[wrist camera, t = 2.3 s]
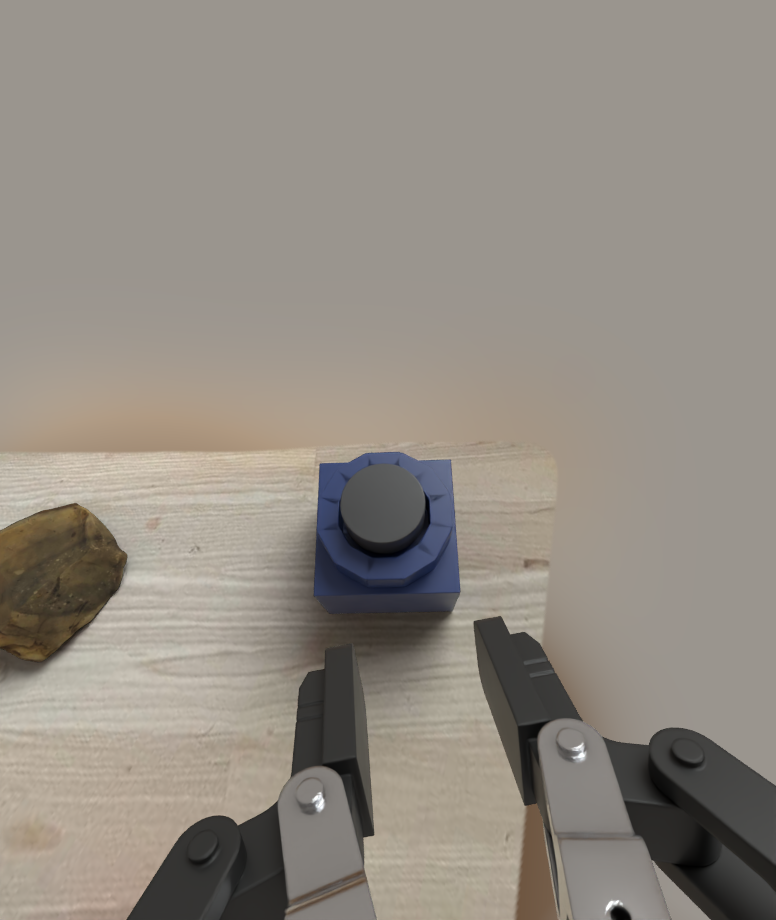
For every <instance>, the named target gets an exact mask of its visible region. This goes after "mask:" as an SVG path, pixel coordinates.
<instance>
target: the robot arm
mask: <svg viewBox="0 0 776 920" xmlns="http://www.w3.org/2000/svg"><path fill="white" fill-rule="evenodd" d="M474 634H475V643H476V652H477V660H478V668H479V674H480V679H481V683H482V687H483V690H484V693H485V696H486V699H487V701H488V704H489V707H490V710H491V713H492V715H493V718H494V721H495V724H496V727H497V729H498V732H499V735H500V738H501V741H502V743H503V746H504V749H505V752H506V755H507V758H508V760H509V763H510V766H511V769H512V772H513V774H514V777H515V780H516V783H517V786H518V788H519V791H520V794H521V797H522V800H523V802H524V805H525V806H526V805H531V804H536V803H537V805H538V808H539V810H540V813H541V816H542V818H543V828H544V838H545V843H546V850H547V856H548V862H549V868H550V874H551V880H552V886H553V892H554V897H555V904H556V910H557V916H558V920H671V917H670V914H669V911H668V908H667V905H666V902H665V899H664V896H663V893H662V890H661V887H660V884H659V881H658V878H657V875H656V872H655V869H654V866H653V863H652V860H653V861H654V862H655V863H656V865H657V866H658V867H659V868H660V869H661V870H662V871H663V872H664V873H665V874H666V875H667V876H668V877H669V878H670V879H671V880H672V881H673V882H674V883H675V884H676V885H677V886H678V887H679V888H680V889H681V890H682V891H683V892H684V893H685V894H686V895H687V896H688V897H689V898H690V899H691V900H692V901H693V902H694V903H695V904H696V905H697V906H698V907H699V908H700V909H701V910H702V911H703V912H704V913H705V914H706V915H707V916H708V917H709V918H710V919H711V920H776V786H775V785H774V784H772V783H771V782H769V781H768V780H767V779H765V778H763V777H762V776H761V775H760V774H758V773H757V772H755V771H754V770H752V769H751V768H750V767H748V766H747V765H745V764H744V763H742V762H741V761H740V760H738V759H737V758H735V757H734V756H733V755H731V754H730V753H728V752H727V751H725V750H724V749H723V748H721V747H720V746H718V745H717V744H716V743H714V742H713V741H711V740H710V739H708V738H707V737H705V736H703V735H701V734H699V733H697V732H695V731H692V730H688V729H683V728H666V729H663V730H660V731H659V732H657V733H656V734H654V735H653V737H652V738H651V740H650V743H649V745H640V744H630V743H621V742H616V741H612V740H609V739H607V738H604V737H602V736H601V735H600V734H599V733H598V732H597V730H595V729H594V728H593V727H592V726H590V725H588V724H587V723H585V722H583V720H582V719H581V717H580V716H579V714H578V712H577V710H576V708H575V707H574V705H573V703H572V701H571V699H570V698H569V696H568V694H567V692H566V691H565V689H564V687H563V685H562V683H561V681H560V680H559V678H558V676H557V674H556V673H555V672H554V669H553V668H552V665H551V664H550V662H549V661H548V658H547V656H546V654H545V653H544V651H543V649H542V647H541V645H540V643H538V642H537V641H536V640H534V639H533V638H532V637H531V636H529V635H528V634H527V633H525V632H521V633H516V634H511V635H510V633H509V631H508V629H507V627H506V625H505V623H504V621H503V619H502V617H501V616H498V617H493V618H488V619H482V620H477V621H474ZM296 719H297V722H296V729H295V740H294V751H293V762H292V773H291V778H290V779H289V780H288V781H287V783H286V784H285V785H284V787H283V789H282V791H281V793H280V795H279V799H278V801H277V802H276V803H275V804H274V805H273V806H272V807H270V808H269V809H268V810H266V811H265V812H263V813H261V814H259V815H257V816H256V817H254V818H252V819H250V820H248V821H246V822H244V823H242V824H240V825H238V826H237V824H236V823H235V822H234V820H232V819H231V818H229V817H226V816H220V815H219V816H211V817H207V818H205V819H202V820H200V821H198V822H197V823H195V824H194V825H192V826H191V827H189V828H188V829H187V830H186V831H185V832H184V833H183V834H182V835H181V836H180V837H179V839H178V840H177V842H176V843H175V844H174V846H173V848H172V849H171V851H170V852H169V854H168V855H167V857H166V859H165V860H164V862H163V863H162V865H161V866H160V868H159V870H158V871H157V873H156V874H155V876H154V877H153V879H152V881H151V882H150V884H149V885H148V887H147V888H146V890H145V891H144V893H143V895H142V896H141V898H140V899H139V901H138V902H137V904H136V906H135V907H134V909H133V910H132V912H131V913H130V915H129V917H128V918H127V920H377V919H376V915H375V911H374V906H373V902H372V898H371V894H370V890H369V886H368V882H367V878H366V874H365V870H364V842H363V837H368V836H373V835H374V823H373V808H372V793H371V779H370V764H369V749H368V734H367V719H366V708H365V700H364V693H363V688H362V683H361V678H360V674H359V669H358V664H357V659H356V655H355V650H354V646H353V644H346V645H341V646H336V647H330V648H326V650H325V669H323V670H317V671H312V672H308V674H307V675H306V677H305V679H304V681H303V682H302V684H301V686H300V688H299V696H298V708H297V718H296Z"/></svg>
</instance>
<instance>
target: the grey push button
mask: <svg viewBox="0 0 776 920" xmlns="http://www.w3.org/2000/svg"><path fill="white" fill-rule="evenodd" d="M425 502H426V501H425V494H424V491H423V488H422V486H421V484H420V483H419V481H418V480H417V478H416V477H415V476H414V475H413V474H412V473H410V472H409V471H407V470H406V469H404V468H402V467H399V466H396V465H393V464H375V465H371V466H368V467H365V468H363V469H361V470H360V471H358V472H357V473H356V474H354V475H353V476H352V477H351V478H350V479H349V481H348V482H347V483H346V485H345V487H344V489H343V492H342V495H341V501H340V509H341V514H342V517H343V520H344V523H345V526H346V528H347V531H348V533H349V535H350V536H351V538H352V539H353V540H354V542H355V543H356V544H358V545H359V546H360V547H362V548H363V549H365V550H367V551H370V552H373V553H378V554H391V553H395V552H398V551H401V550H403V549H405V548H406V547H408V546H409V545H411V544H412V543H413V542H414V541H415V540H416V538H417V537H418V536H419V534H420V532H421V530H422V528H423V524H424V519H425Z"/></svg>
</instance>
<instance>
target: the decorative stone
mask: <svg viewBox="0 0 776 920" xmlns="http://www.w3.org/2000/svg"><path fill="white" fill-rule="evenodd" d="M126 560H127V554H126V553H125V552H123V551H122V550H121V549H120V548H119V547H118V545H117V543H116V540H115V538H114V537H113V535H112V534H111V533H110V531H109V530H108V529H107V528H106V527H105V525H104V524H103V523H102V522H101V521H100V520H99V519H98V518H97V517H96V516H95V515H94V514H92V513H91V512H90V511H89V510H87V509H86V508H84V507H82V506H80V505H78V504H77V503H73V504H69V505H66V506H62V507H57V508H54V509H49V510H43V511H40V512H38V513H35V514H33V515H31V516H29V517H27V518H24V519H22V520H19V521H17V522H15V523H13V524H11V525H10V526H8V527H6V528H4V529H2V530H0V648H1V649H4V650H6V651H7V652H9V653H11V654H12V655H14V656H16V657H18V658H20V659H23V660H26V661H32V662H42V661H44V660H45V659H46V658H48V657H49V656H50V655H51V654H53V653H54V652H55V651H56V650H57V649H58V648H59V647H60V646H61V645H62V644H63V643H64V642H65V641H67V640H68V639H69V638H70V637H71V636H72V635H73V634H74V633H75V632H76V631H77V630H78V629H80V628H81V627H82V626H84V625H86V624H87V623H89V622H90V621H91V620H92V619H93V618H94V616H95V615H96V614H97V613H98V612H99V611H100V609H101V608H102V607H103V605H104V604H105V603H106V602H107V601H108V600H109V599H110V597H111V595H112V594H113V593H114V592H115V591H116V590H117V589H118V587H119V585H120V582H121V579H122V576H123V567H124V565H125V563H126Z"/></svg>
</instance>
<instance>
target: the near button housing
mask: <svg viewBox="0 0 776 920" xmlns="http://www.w3.org/2000/svg"><path fill="white" fill-rule="evenodd" d="M375 464H393V465H396V466H399V467H402V468H404V469H406V470H407V471H409V472H410V473H412V474H413V475H414V476H415V477H416V478H417V480H418V481H419V483H420V484H421V486H422V488H423V491H424V494H425V501H426V502H425V519H424V524H423V528H422V530H421V532H420V534H419V536H418V537H417V538H416V540H415V541H414V542H413V543H412V544H411V545H409V546H408V547H406V548H405V549H403V550H401V551H398V552H395V553H391V554H378V553H373V552H370V551H367V550H365V549H363V548H362V547H360V546H359V545H358V544H356V543H355V542H354V540H353V539H352V538H351V536H350V535H349V533H348V531H347V528H346V526H345V523H344V520H343V517H342V514H341V509H340V501H341V495H342V492H343V489H344V487H345V485H346V483H347V482H348V481H349V479H350V478H351V477H352V476H353V475H354V474H356V473H357V472H358V471H360V470H361V469H363V468H365V467H368V466H371V465H375ZM459 594H460V580H459V566H458V552H457V538H456V524H455V510H454V496H453V482H452V469H451V460H422V461H418V460H416V459H414V458H412V457H410V456H408V455H406V454H404V453H400V452H384V453H365V454H363V455H362V456H360V457H358V458H356V459H354V460H352V461H351V462H349V463H322V464H320V468H319V490H318V510H317V534H316V556H315V578H314V597H315V598H316V599H317V600H318V601H319V602H320V604H321V605H322V606H323V607H324V608H325V609H326V610H327V612H328V613H329V614H346V613H393V612H440V611H453V609H454V606H455V604H456V601H457V599H458V597H459Z"/></svg>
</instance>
